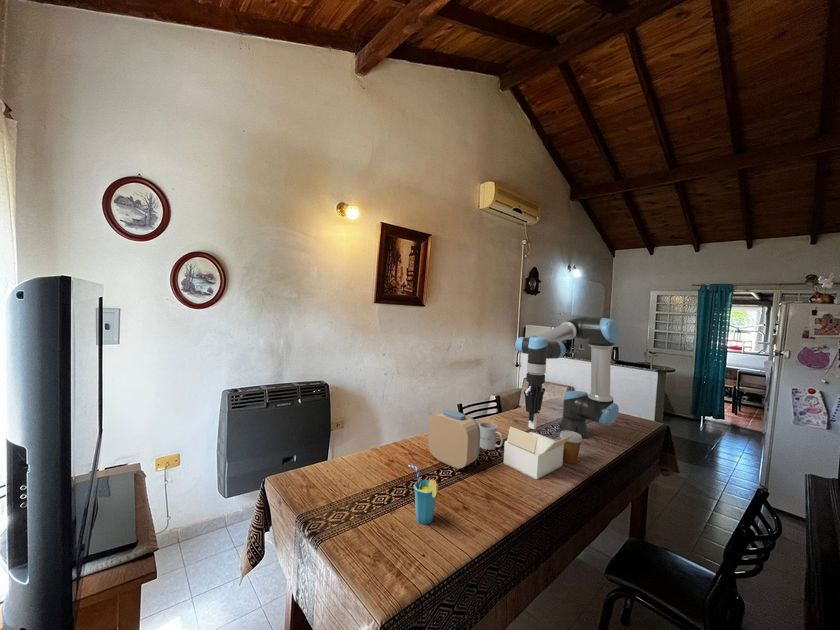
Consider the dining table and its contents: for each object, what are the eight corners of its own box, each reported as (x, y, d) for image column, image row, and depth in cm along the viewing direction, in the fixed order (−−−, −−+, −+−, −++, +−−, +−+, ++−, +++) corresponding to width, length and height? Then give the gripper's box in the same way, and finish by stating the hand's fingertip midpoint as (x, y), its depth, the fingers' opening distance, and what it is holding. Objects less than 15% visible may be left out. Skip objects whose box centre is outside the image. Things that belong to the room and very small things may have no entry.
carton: (529, 451, 157) (530, 430, 157) (563, 465, 144) (564, 443, 144) (502, 462, 144) (503, 440, 144) (536, 479, 132) (538, 455, 131)
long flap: (572, 434, 138) (572, 435, 138) (561, 444, 142) (562, 444, 142) (552, 442, 129) (553, 443, 129) (542, 453, 132) (543, 453, 132)
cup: (398, 512, 107) (400, 466, 107) (415, 502, 113) (417, 459, 112) (430, 534, 97) (432, 484, 97) (447, 523, 103) (449, 475, 102)
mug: (474, 444, 162) (475, 424, 162) (485, 440, 167) (486, 421, 167) (494, 454, 152) (495, 432, 152) (505, 449, 158) (507, 429, 157)
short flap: (510, 426, 143) (510, 426, 143) (537, 436, 133) (537, 436, 133) (507, 441, 142) (506, 441, 142) (534, 453, 132) (534, 453, 132)
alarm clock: (479, 467, 139) (481, 416, 138) (465, 475, 132) (468, 422, 131) (441, 450, 153) (443, 404, 152) (427, 457, 146) (429, 408, 145)
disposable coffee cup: (583, 466, 144) (585, 439, 144) (560, 463, 146) (561, 436, 146) (577, 457, 154) (579, 431, 153) (555, 454, 155) (557, 429, 155)
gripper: (536, 370, 148) (532, 422, 149) (519, 372, 140) (515, 427, 141) (552, 373, 142) (548, 427, 143) (535, 376, 134) (531, 434, 135)
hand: (532, 427), depth 142 cm, fingers closed
